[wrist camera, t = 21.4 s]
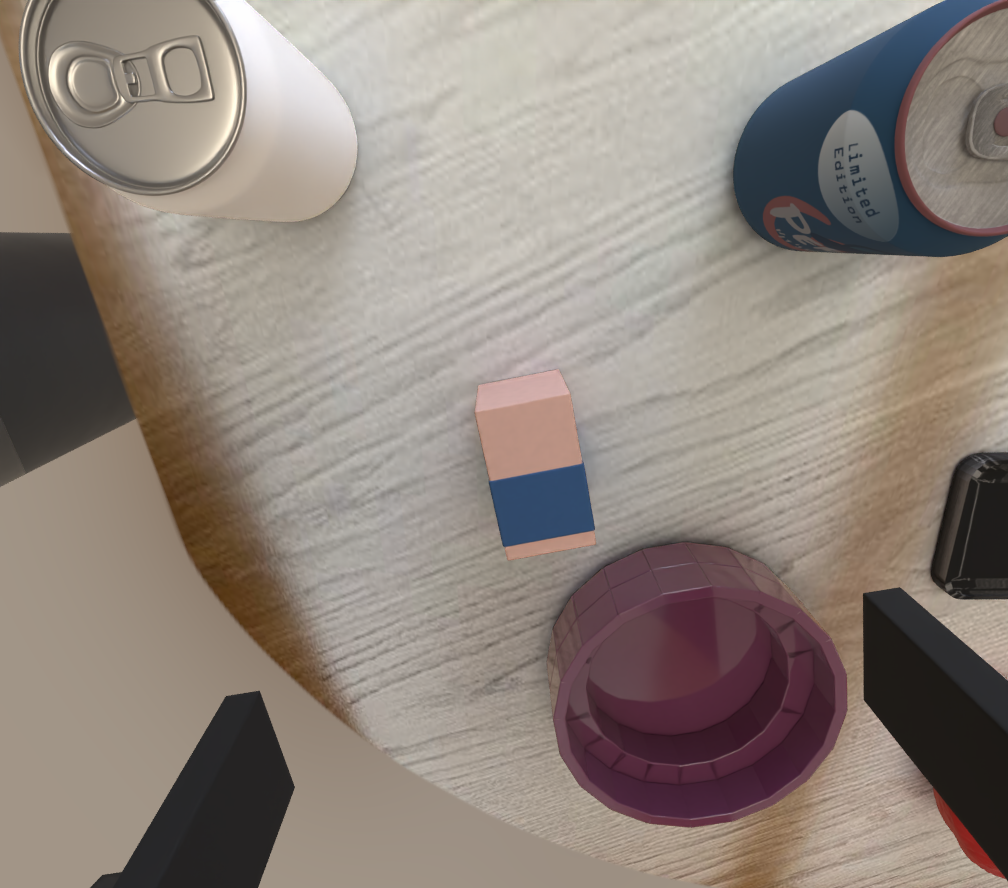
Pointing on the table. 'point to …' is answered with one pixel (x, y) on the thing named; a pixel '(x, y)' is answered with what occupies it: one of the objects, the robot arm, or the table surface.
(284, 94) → the can
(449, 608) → the table surface
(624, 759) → the bowl
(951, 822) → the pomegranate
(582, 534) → the eraser
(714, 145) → the table surface
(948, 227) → the soda can
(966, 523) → the phone
